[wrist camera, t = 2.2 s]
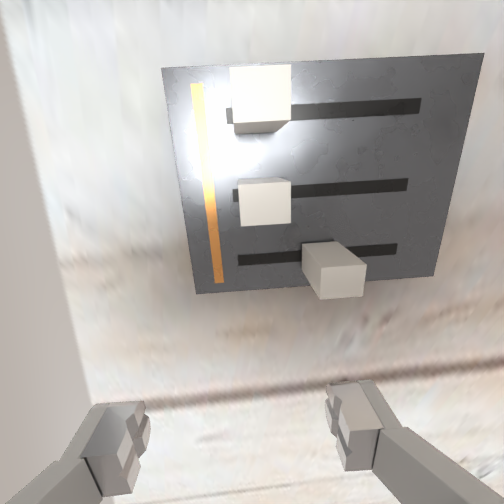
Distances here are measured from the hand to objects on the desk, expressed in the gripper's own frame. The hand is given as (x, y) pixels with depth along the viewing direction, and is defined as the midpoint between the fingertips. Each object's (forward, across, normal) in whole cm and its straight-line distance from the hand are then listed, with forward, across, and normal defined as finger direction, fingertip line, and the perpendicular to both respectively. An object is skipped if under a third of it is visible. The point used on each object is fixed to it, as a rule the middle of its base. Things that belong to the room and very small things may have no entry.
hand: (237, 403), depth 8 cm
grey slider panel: (+15, -7, -6) cm, 18 cm away
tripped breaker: (+13, -7, 0) cm, 15 cm away
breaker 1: (+13, -2, -11) cm, 17 cm away
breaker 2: (+13, -2, -6) cm, 14 cm away
